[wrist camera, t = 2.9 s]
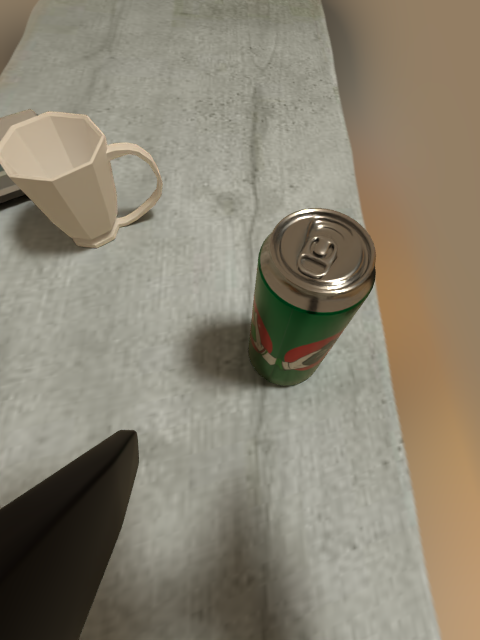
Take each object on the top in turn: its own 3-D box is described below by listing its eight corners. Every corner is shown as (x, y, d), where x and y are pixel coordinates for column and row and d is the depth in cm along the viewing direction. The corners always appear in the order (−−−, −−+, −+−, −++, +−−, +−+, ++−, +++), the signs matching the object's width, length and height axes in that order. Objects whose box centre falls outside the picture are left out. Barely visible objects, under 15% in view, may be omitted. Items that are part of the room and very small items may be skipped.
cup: (51, 206, 30) (-6, 117, 23) (163, 186, 32) (142, 97, 24) (53, 269, 27) (-11, 190, 20) (177, 245, 29) (158, 162, 21)
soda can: (328, 340, 25) (401, 227, 14) (301, 401, 23) (362, 323, 12) (266, 311, 26) (290, 185, 15) (235, 367, 24) (237, 268, 13)
